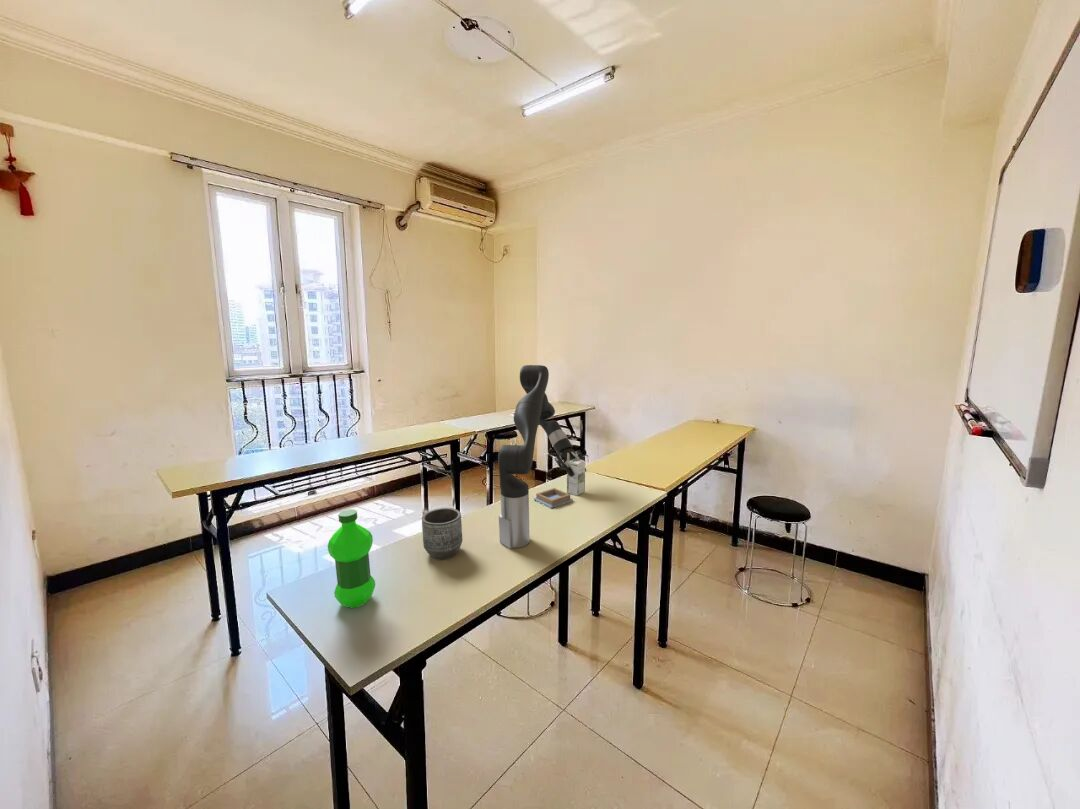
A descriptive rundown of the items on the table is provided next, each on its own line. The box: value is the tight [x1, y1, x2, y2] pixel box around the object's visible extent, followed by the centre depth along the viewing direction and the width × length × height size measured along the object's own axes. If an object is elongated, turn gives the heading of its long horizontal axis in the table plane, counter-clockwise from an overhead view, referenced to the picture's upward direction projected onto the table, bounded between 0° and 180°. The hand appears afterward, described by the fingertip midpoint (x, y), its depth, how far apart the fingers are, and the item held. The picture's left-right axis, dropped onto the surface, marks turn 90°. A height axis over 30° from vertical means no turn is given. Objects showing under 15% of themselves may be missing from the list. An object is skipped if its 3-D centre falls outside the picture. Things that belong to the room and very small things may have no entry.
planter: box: [421, 507, 463, 561], centre depth 135 cm, size 12×12×13 cm
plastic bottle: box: [327, 508, 376, 609], centre depth 110 cm, size 10×10×25 cm
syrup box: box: [566, 458, 586, 497], centre depth 183 cm, size 6×6×14 cm
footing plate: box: [533, 487, 574, 509], centre depth 176 cm, size 12×11×3 cm
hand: (578, 474), depth 181 cm, fingers closed on syrup box, 6 cm apart
